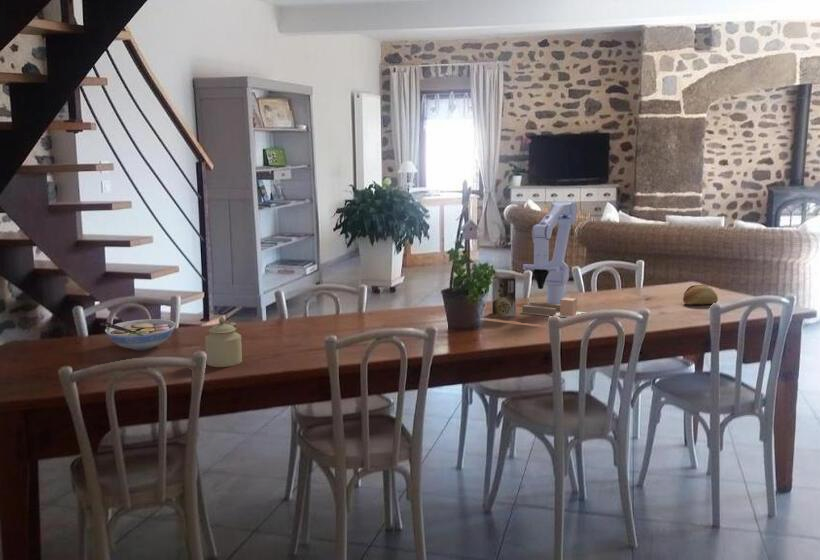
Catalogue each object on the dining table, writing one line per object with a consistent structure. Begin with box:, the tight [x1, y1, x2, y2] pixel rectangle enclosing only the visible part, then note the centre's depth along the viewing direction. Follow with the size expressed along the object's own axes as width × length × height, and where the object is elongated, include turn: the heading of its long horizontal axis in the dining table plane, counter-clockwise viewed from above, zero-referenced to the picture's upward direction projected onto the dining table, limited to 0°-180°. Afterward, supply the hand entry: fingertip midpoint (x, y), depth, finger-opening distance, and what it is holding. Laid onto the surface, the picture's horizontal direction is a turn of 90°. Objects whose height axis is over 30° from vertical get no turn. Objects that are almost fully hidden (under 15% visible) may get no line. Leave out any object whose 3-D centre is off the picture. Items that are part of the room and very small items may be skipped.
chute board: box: [521, 301, 586, 318], centre depth 296 cm, size 12×24×4 cm, turn 59°
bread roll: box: [682, 284, 719, 306], centre depth 313 cm, size 10×15×8 cm, turn 103°
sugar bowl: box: [204, 315, 243, 368], centre depth 238 cm, size 15×11×15 cm
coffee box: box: [491, 274, 517, 317], centre depth 294 cm, size 9×6×16 cm
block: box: [560, 297, 578, 316], centre depth 293 cm, size 4×5×6 cm
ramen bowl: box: [99, 318, 176, 351], centre depth 256 cm, size 25×23×8 cm
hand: (540, 288), depth 300 cm, fingers closed
